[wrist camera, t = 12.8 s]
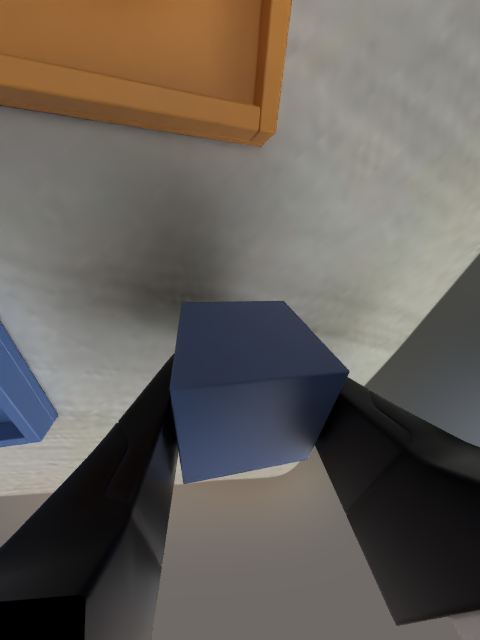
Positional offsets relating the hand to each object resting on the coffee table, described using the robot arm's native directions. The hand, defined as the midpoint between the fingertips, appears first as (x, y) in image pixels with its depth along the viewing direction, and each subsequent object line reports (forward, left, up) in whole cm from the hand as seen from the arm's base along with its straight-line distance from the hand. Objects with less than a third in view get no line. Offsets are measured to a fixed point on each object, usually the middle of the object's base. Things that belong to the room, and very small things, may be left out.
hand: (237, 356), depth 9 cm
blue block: (0, 0, -1) cm, 1 cm away
